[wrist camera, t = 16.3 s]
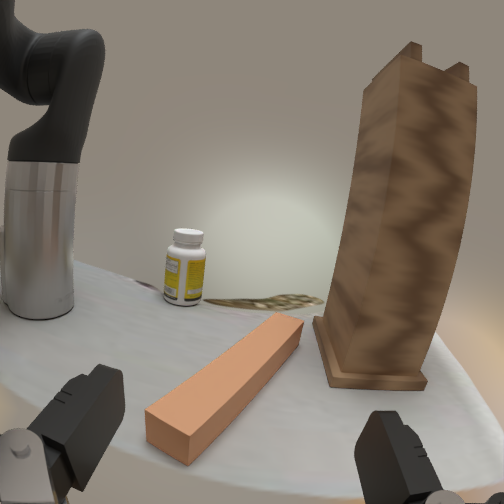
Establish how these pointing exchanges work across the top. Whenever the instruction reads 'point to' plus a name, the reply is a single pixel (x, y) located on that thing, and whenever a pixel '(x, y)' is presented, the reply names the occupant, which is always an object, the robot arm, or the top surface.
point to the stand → (400, 224)
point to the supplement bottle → (185, 268)
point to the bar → (220, 390)
